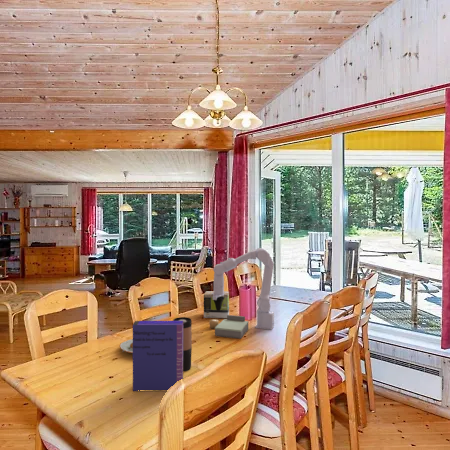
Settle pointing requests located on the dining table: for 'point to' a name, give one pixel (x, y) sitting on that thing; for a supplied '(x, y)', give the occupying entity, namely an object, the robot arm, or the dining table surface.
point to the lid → (232, 323)
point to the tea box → (211, 308)
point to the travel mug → (186, 342)
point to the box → (231, 333)
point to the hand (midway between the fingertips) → (218, 310)
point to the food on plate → (127, 346)
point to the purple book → (157, 354)
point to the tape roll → (213, 323)
